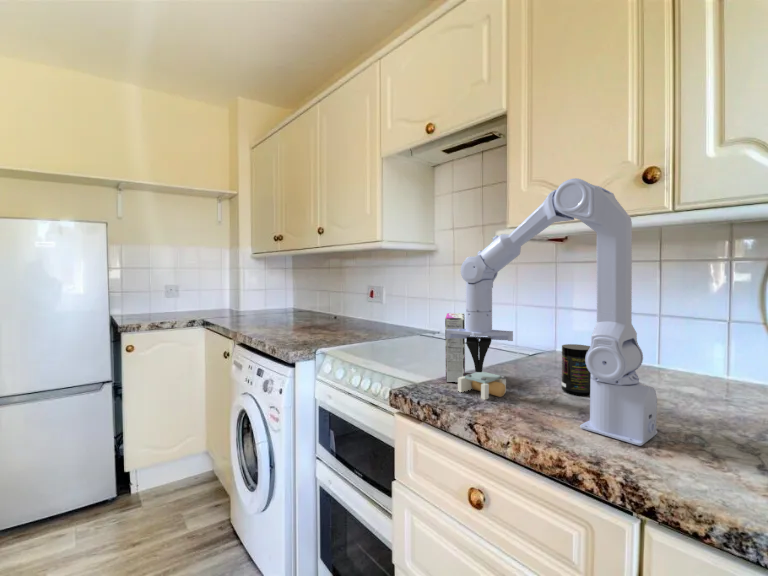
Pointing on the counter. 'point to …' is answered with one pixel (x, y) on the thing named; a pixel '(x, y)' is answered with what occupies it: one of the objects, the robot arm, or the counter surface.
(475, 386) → the tan cylinder roller
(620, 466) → the counter surface
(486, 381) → the cover flap
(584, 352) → the supplement container
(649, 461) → the counter surface
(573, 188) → the robot arm
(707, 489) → the counter surface
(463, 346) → the candy bar box
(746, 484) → the counter surface
